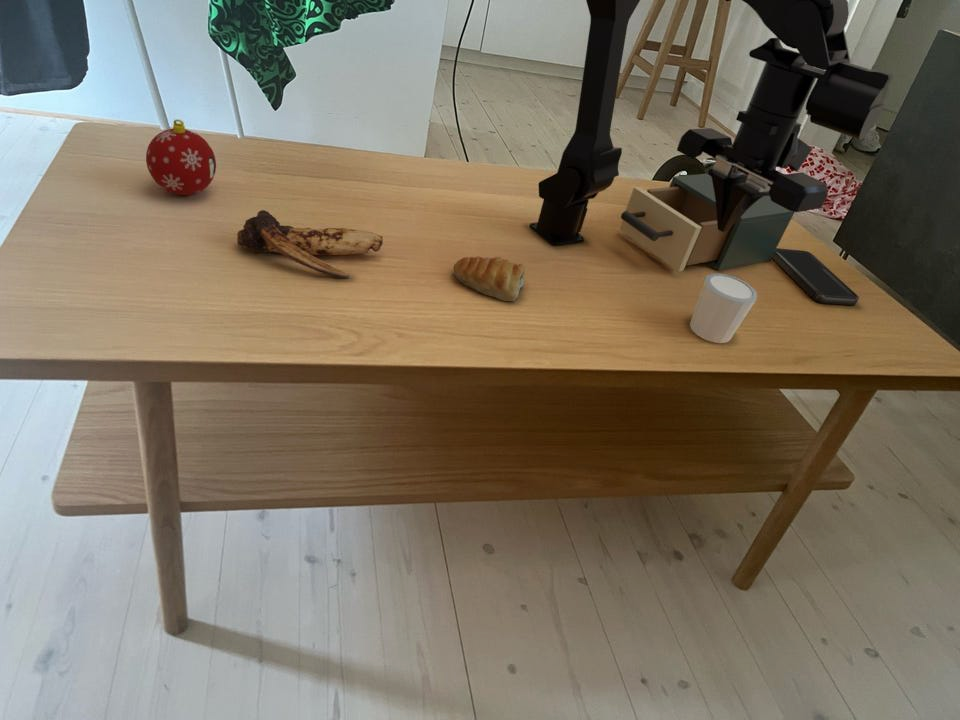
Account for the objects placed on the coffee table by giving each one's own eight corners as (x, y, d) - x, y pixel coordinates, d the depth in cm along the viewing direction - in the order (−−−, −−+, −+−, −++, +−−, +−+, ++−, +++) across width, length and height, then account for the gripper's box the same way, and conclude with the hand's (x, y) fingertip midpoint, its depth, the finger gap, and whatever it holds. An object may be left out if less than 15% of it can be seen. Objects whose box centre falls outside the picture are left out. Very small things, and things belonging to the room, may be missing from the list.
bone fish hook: (233, 276, 81) (385, 282, 85) (231, 242, 78) (389, 250, 82) (239, 236, 87) (379, 243, 92) (237, 203, 84) (382, 212, 89)
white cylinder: (738, 351, 88) (761, 307, 84) (686, 337, 89) (707, 292, 84) (732, 324, 94) (754, 281, 90) (684, 310, 94) (703, 267, 90)
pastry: (446, 286, 87) (451, 260, 85) (458, 263, 93) (463, 238, 90) (516, 306, 87) (523, 280, 84) (524, 281, 92) (531, 256, 90)
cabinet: (718, 271, 106) (742, 218, 101) (653, 227, 115) (673, 176, 110) (770, 260, 113) (795, 210, 108) (706, 219, 122) (726, 171, 117)
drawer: (657, 276, 99) (675, 231, 94) (598, 232, 107) (612, 189, 103) (730, 261, 108) (750, 219, 103) (671, 221, 116) (687, 181, 112)
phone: (820, 296, 103) (770, 247, 114) (816, 302, 104) (767, 253, 115) (862, 299, 105) (809, 251, 116) (859, 305, 106) (806, 256, 117)
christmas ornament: (172, 173, 97) (166, 103, 91) (228, 188, 97) (226, 119, 91) (135, 195, 90) (126, 120, 84) (196, 211, 90) (192, 138, 84)
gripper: (882, 136, 77) (818, 257, 86) (752, 83, 89) (708, 194, 98) (828, 140, 71) (766, 269, 81) (697, 82, 83) (655, 201, 92)
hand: (722, 230), depth 88 cm, fingers closed
